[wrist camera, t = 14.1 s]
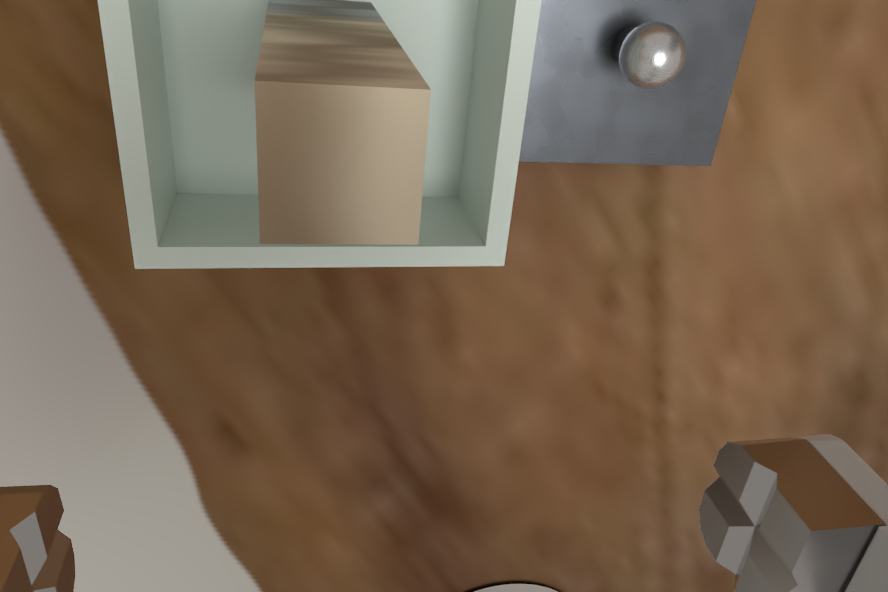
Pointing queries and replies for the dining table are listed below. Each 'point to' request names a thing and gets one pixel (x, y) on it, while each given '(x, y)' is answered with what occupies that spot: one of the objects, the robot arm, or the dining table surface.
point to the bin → (235, 146)
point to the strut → (338, 127)
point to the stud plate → (613, 103)
